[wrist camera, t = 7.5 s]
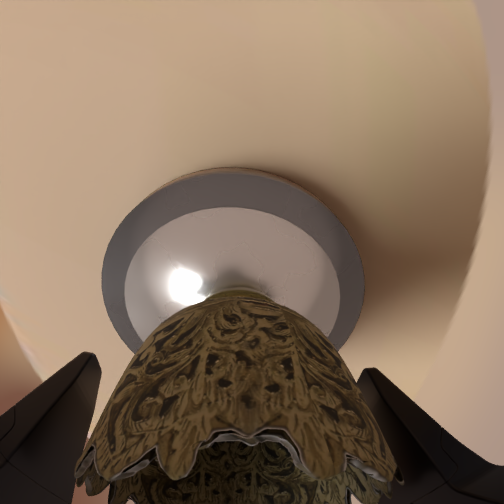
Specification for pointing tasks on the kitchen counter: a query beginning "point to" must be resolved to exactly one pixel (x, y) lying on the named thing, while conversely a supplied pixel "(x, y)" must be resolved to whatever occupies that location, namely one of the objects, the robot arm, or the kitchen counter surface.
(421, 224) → the kitchen counter surface
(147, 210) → the gray-rimmed plate
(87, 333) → the kitchen counter surface
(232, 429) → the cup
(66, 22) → the kitchen counter surface
